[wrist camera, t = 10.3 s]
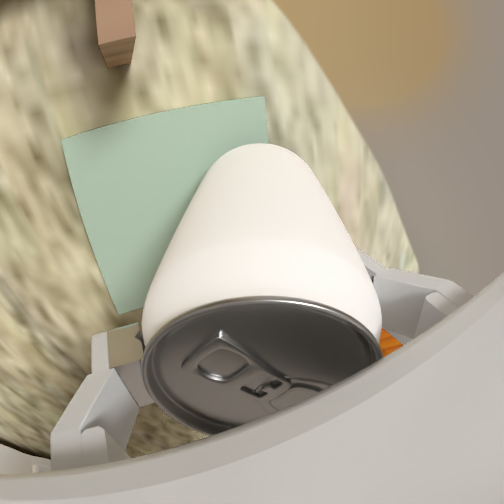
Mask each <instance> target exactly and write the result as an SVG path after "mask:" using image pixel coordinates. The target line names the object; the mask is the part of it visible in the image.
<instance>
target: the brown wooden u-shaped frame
mask: <svg viewBox="0 0 504 504" xmlns="http://www.w3.org/2000/svg"><path fill="white" fill-rule="evenodd" d="M95 11H96V24H97V35H98V45H99V47H100V50H101V52H102V55H103V57H104V60H105V62H106V65H107V67H108V68H111V67H115V66H120V65H124V64H128V63H131V60H132V54H133V49H134V43H135V38H136V33H135V23H134V12H133V1H132V0H95Z"/></svg>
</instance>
